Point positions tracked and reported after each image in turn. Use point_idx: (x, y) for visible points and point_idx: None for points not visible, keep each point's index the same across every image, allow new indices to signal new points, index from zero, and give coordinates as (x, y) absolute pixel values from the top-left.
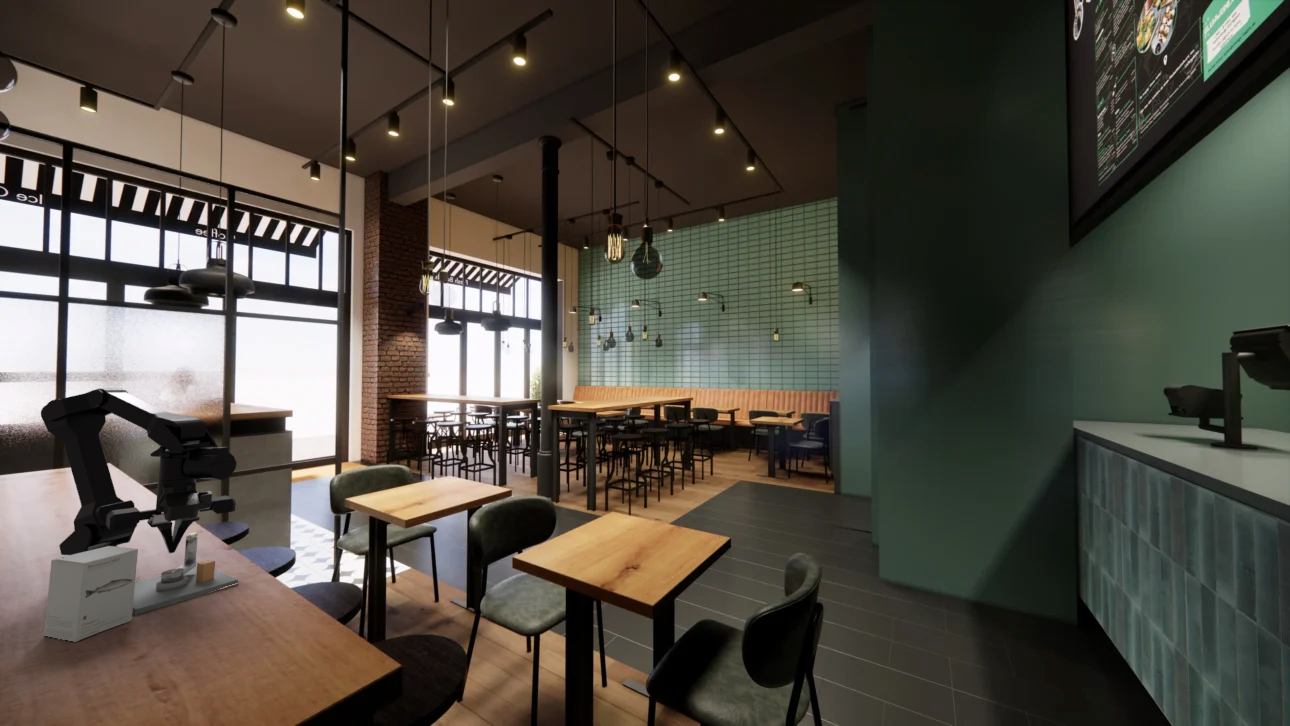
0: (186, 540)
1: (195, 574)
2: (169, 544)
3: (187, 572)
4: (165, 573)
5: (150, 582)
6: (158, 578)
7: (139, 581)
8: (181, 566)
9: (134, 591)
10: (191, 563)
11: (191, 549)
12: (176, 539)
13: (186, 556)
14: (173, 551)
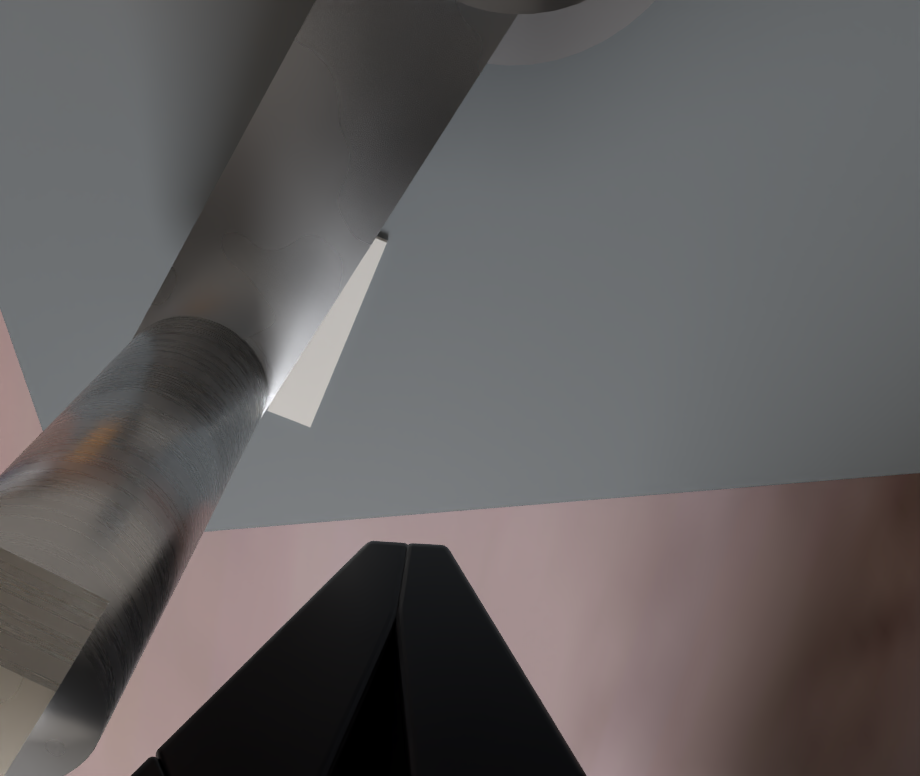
0: (108, 653)
1: (184, 205)
2: (466, 653)
3: None
4: None
5: (632, 327)
6: (531, 416)
7: (689, 473)
8: (318, 275)
9: (866, 94)
10: (182, 318)
11: (97, 434)
12: (315, 710)
13: (214, 404)
14: (387, 548)
